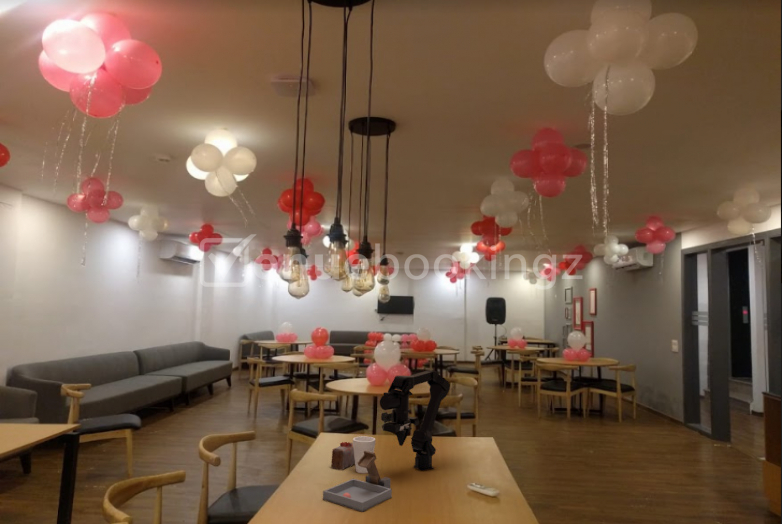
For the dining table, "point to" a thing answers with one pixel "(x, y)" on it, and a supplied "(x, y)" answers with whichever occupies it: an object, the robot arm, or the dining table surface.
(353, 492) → the tray
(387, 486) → the lever stand
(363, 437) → the foam cup
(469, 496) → the dining table surface
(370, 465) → the lever
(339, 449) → the food item
